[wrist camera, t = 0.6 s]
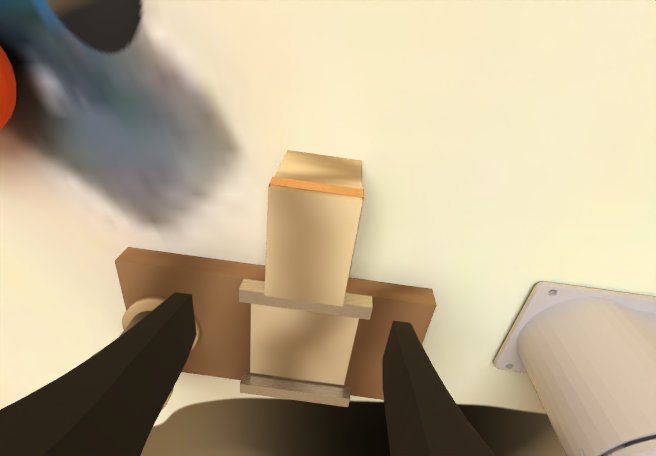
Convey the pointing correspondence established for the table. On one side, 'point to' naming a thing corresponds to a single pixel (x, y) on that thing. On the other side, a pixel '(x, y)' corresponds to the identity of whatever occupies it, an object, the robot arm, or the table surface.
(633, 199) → the table surface
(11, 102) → the clementine
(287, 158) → the block
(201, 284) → the brown rectangular board
